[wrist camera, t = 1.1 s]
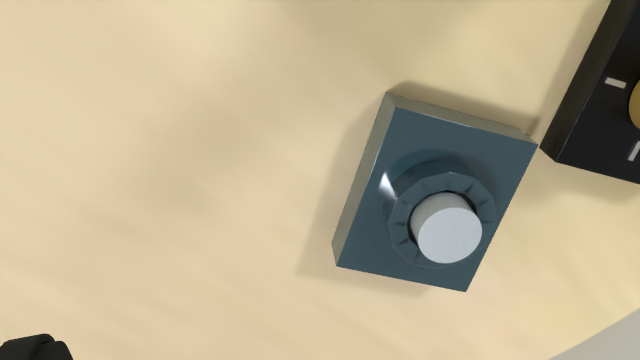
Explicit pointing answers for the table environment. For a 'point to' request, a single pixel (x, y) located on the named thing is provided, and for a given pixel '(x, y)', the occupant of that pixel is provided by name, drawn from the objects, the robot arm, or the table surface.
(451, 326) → the table surface
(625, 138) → the dial plate
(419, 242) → the light grey short cylinder
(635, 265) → the table surface
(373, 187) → the push button box
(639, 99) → the dial
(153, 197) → the table surface
